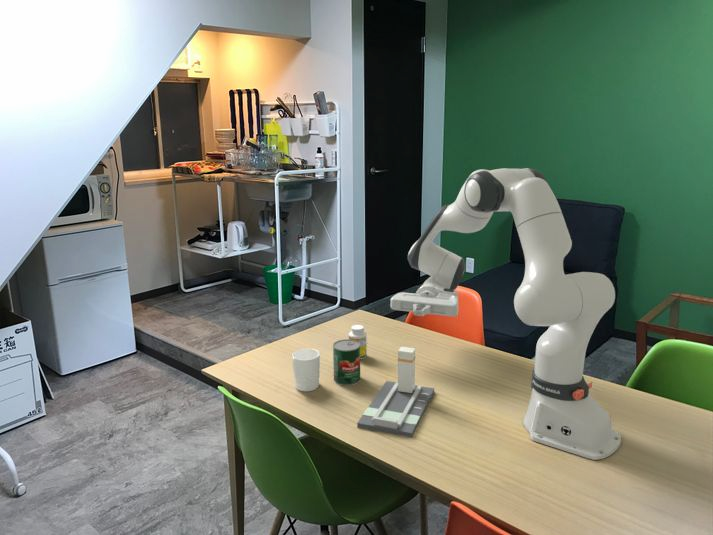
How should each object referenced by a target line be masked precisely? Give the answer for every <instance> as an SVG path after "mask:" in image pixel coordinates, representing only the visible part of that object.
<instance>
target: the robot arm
mask: <svg viewBox="0 0 713 535" xmlns="http://www.w3.org/2000/svg"><path fill="white" fill-rule="evenodd" d="M494 212H495V213H496V212H510V213H511V215H512V217H513V221H514V224H515V227H516V231H517V233H518V237H519V240H520V241H519V242H520V244H521V248H522V251H523V256H524V265H525V267H524V275H523V280H522V282H521V284H520V286H519V287H518V288H517V289H516V292H515V294H514V299H513V304H514V305H513V307H514V310H515V313H516V315H517V317H518V318H519V320H521V322H522V323H524V324H525V325H526V326H530V327H531V326H532V327H533V326H534V327H548V329H547V330H545V332H543V333H542V335H540V337H539V338H538V340H537V343H536V347H535V355H534V356H535V358H534V368H533V369H532V371H531V372H532V373H531V384H530V387H531V388H530V389H531V394H530V400H529V403H528V407H527V411H526V413H525V416H524V418H523V421H522V422H523V426H524V427H525V429H526V430H527V431H528V432H529V438H530V440H532V441H533V442H536V443H539V444H541V445H546V446H548V447H552V448H555V449H558V450H561V451H565V452H568V453H570V454H574V455H577V456H580V457H583V458H586V459H589V460H593V461H596V460H598V461H599V460H602V459H605V458H607V457H610V456H611V455H612V454H614V453H616V452H617V450H618V449H619V448H620V447H621V445H622V444H621V443H622V437H621V434H620V433H619V432H618V431H616V430H614V429H613V427H612V426H613V425H612V418H611V416H610V414H609V412H608V411H607V410H605V409H604V407H602V405H601V404H600V403H599V402H598V401H597V400H596V399H595V398H594V397H593V396H592V395H591V394H590V389H591V388H592V387H593V382H592V381H591V382H589V383H588V384H587V381H586V380H585V378H584V366H585V359H586V352H587V348H588V345H589V343H590V339H591V338H592V335H593V333H594V331H595V329H596V327H597V325H598V324H599V322H600V320H601V319H602V318H603V316H604V315H605V314H606V313H607V312H608V311H609V310H610V309H611V308H612V307H613V306H614V304H615V300H616V289H615V287H614V284H613V282H612V281H611V279H610V278H609V277H607V276H606V275H605V274H603V273H599V272H591V271H580V272H574V273H568V274H565V270H564V260H565V257H566V256H567V255H568V253H570V251H571V249H572V246H573V245H572V244H573V241H572V239H571V235H570V232H569V228H568V227H567V223H566V220H565V218H564V215H563V212H562V209H561V206H560V204H559V202H558V200H557V198H556V196H555V194H554V191H553V190H552V189H551V187H550V185H549V183H548V182H547V180H546V177H545V175H544V174H543V173H542V172H541V171H539V170H538V169H534V168H530V167H529V168H528V167H524V168H506V167H503V168H496V169H491V170H489V169H483V168H482V169H477V170H475V171H473V172H472V173H470V174H469V176H468V178H467V179H466V180H465V181H464V183H463V185H462V186H461V188H460V191H459V193H458V195H457V197H456V199H455V200H454V202H452V203H451V204H445V205H442V207H440V208H439V209H438V211H437V212H436V214H435V215H434V216H433V217H432V219H431V220H430V222H429V223H428V225H427V226H426V227H425V228H424V230H423V232H422V234H421V235H420V237H419V238H418V240H416V241H415V242H414V243H413V244H412V246H411V247H410V249H409V251H408V252H407V253H408V254H407V257H406V258H407V261H408V263H409V266H410V267H411V268H412V269H415V270H417V271H420V272H423V273H425V274H426V275H428V276H430V277H428V278H427V279H426V280H425V281H424V282H423V284H422V285H421V286H420V287H418V289H417V290H416V291H415V293H414V292H411V293H410V292H403V291H402V292H397V293H396V294H393V296H392V297H391V298H390V309H391V310H393V311H402V312H408V313H409V312H410V313H413V316H419V317H424V316H425V315H437V316H444V317H445V316H447V317H453V318H454V317H457V316H458V315H459V314H458V313H459V294H458V291H457V290H456V289H457V288H458V287H459V285H460V283H461V282H462V279H463V278H464V276H465V272H466V269H467V266H466V262H465V259H464V258H463V257H462V256H459V255H457V254H456V253H453V252H452V251H449V250H447V249H446V248H443V247H441V246H440V245H438V244H436V243H435V242H434V239H435V238H436V237H437V236H438V235H439V233H440V232H443V231H449V232H456V233H461V234H472V233H476V232H479V231H482V230H483V229H484V228H485V227H486V226H487V225H488V223H489V222H490V219H491V218H492V216H493V214H494Z"/></svg>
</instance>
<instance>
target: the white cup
mask: <svg viewBox="0 0 713 535" xmlns="http://www.w3.org/2000/svg"><path fill="white" fill-rule="evenodd" d="M291 358H292V370H293V378H294V386H295V388H296V390H298V391H301V392H311V391H315V390H317V389H318V388H319V385H320V369H321V368H320V366H321V352H320V351H319V350H317V349H314V348H300V349H297V350H295V351H293V352H292V354H291ZM316 388H317V389H316Z"/></svg>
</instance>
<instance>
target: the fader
mask: <svg viewBox="0 0 713 535" xmlns="http://www.w3.org/2000/svg"><path fill="white" fill-rule="evenodd" d="M415 373H416V348H413V347H406V346H400V347H399V349H398V351H397V383H398V391H401V392H407V393H412V392H413V390H414V389H415V385H416V384H415V383H416V374H415Z"/></svg>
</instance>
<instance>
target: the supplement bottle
mask: <svg viewBox="0 0 713 535" xmlns="http://www.w3.org/2000/svg"><path fill="white" fill-rule="evenodd" d="M364 328H365V327H364V326H363V325H361V324H354V325H351V328H350V332H348V339H349V340H355V341H357V342H359V343H360V359H361V360H364V359H365V358H367V350H368V349H367V348H368V347H367V346H368V345H367V344H368V343H367V333H366V331H365V329H364Z"/></svg>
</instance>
